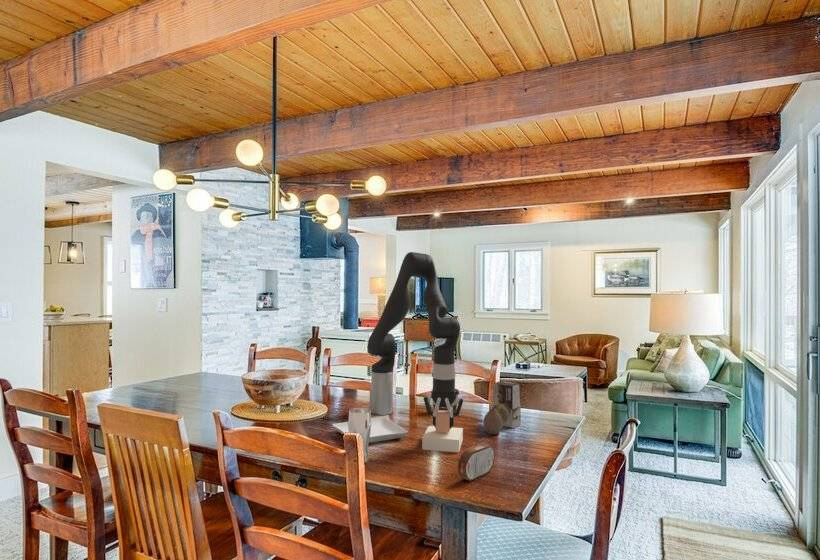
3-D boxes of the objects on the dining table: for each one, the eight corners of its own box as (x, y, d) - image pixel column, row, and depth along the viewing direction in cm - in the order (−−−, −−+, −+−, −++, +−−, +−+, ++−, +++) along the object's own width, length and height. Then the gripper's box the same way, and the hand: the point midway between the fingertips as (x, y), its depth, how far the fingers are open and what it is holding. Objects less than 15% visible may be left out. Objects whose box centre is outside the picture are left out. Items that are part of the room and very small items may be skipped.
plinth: (422, 449, 160) (422, 437, 160) (428, 437, 174) (428, 425, 174) (458, 452, 158) (459, 440, 158) (462, 439, 172) (462, 428, 172)
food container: (459, 410, 213) (459, 387, 214) (459, 414, 207) (459, 390, 208) (431, 409, 215) (431, 386, 215) (430, 413, 209) (430, 389, 209)
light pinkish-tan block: (435, 431, 164) (435, 413, 164) (437, 427, 169) (437, 410, 169) (448, 432, 163) (449, 414, 163) (450, 428, 168) (450, 410, 168)
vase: (503, 431, 183) (503, 407, 183) (500, 436, 176) (501, 412, 176) (485, 429, 185) (485, 406, 185) (481, 434, 178) (481, 410, 178)
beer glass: (348, 456, 153) (348, 407, 153) (370, 455, 154) (371, 407, 154) (347, 464, 146) (348, 413, 146) (370, 463, 147) (371, 413, 147)
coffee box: (521, 425, 191) (521, 383, 192) (512, 428, 187) (512, 385, 187) (501, 420, 198) (501, 380, 198) (492, 423, 193) (492, 382, 193)
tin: (487, 468, 144) (487, 439, 145) (496, 471, 142) (497, 441, 142) (456, 482, 133) (456, 451, 134) (465, 485, 131) (466, 453, 131)
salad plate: (351, 449, 161) (352, 438, 161) (331, 432, 180) (331, 422, 180) (409, 440, 171) (409, 431, 171) (383, 425, 189) (383, 416, 189)
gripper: (421, 377, 164) (420, 429, 164) (464, 379, 161) (463, 432, 161) (424, 373, 171) (424, 423, 171) (465, 375, 169) (465, 426, 168)
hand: (443, 427), depth 166 cm, fingers closed on light pinkish-tan block, 4 cm apart
